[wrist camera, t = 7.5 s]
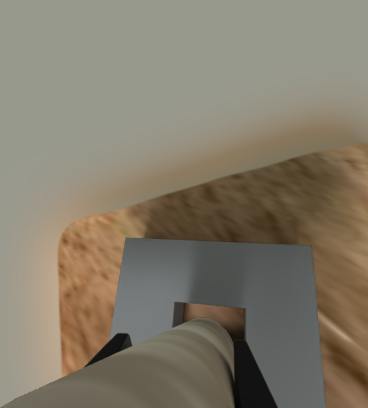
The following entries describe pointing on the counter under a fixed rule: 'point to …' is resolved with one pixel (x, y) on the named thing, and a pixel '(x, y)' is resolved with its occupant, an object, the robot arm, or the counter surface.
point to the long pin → (151, 374)
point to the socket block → (231, 303)
